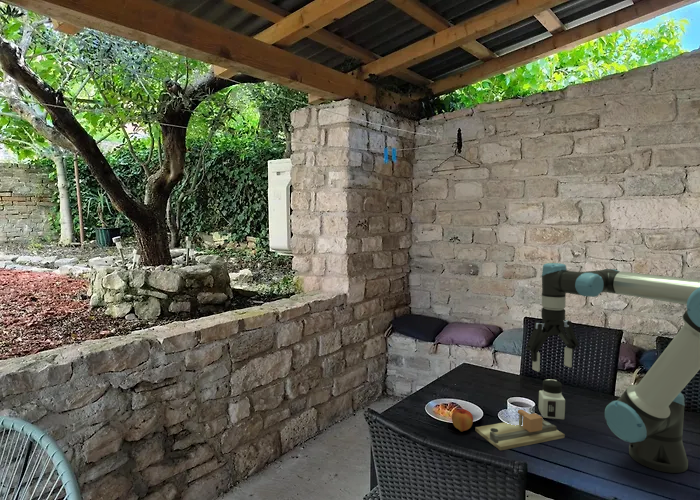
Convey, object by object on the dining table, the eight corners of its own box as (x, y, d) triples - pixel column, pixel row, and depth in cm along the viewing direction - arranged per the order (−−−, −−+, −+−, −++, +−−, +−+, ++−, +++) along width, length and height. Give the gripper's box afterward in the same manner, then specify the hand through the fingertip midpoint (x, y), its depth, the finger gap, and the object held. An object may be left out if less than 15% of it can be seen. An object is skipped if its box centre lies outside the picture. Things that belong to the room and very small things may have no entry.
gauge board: (564, 437, 153) (564, 427, 153) (500, 450, 145) (500, 439, 144) (535, 420, 166) (535, 410, 166) (475, 430, 158) (475, 420, 158)
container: (564, 419, 166) (566, 385, 165) (542, 417, 168) (543, 384, 167) (559, 410, 174) (560, 378, 173) (538, 409, 175) (539, 376, 174)
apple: (460, 436, 154) (461, 414, 153) (447, 427, 160) (447, 406, 160) (477, 432, 157) (477, 410, 156) (463, 423, 164) (464, 402, 163)
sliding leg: (542, 433, 152) (542, 417, 152) (530, 435, 151) (530, 419, 150) (525, 422, 160) (525, 407, 160) (513, 424, 159) (514, 409, 158)
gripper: (573, 303, 162) (572, 361, 163) (515, 308, 155) (514, 368, 156) (590, 307, 155) (589, 367, 156) (530, 312, 147) (529, 375, 149)
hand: (552, 368), depth 156 cm, fingers open, 13 cm apart
